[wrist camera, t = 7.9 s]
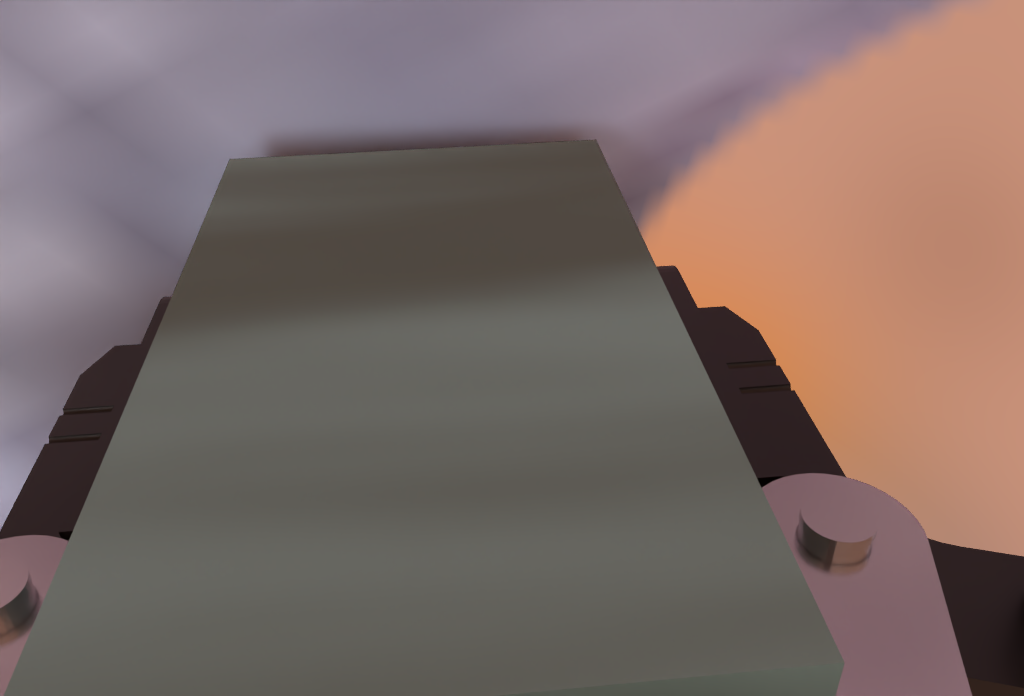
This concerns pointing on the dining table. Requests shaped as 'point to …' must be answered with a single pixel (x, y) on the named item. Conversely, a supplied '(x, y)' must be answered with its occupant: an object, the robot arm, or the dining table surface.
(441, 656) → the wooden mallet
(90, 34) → the dining table surface
